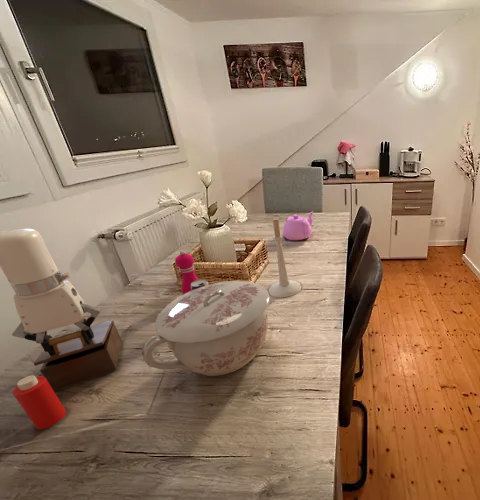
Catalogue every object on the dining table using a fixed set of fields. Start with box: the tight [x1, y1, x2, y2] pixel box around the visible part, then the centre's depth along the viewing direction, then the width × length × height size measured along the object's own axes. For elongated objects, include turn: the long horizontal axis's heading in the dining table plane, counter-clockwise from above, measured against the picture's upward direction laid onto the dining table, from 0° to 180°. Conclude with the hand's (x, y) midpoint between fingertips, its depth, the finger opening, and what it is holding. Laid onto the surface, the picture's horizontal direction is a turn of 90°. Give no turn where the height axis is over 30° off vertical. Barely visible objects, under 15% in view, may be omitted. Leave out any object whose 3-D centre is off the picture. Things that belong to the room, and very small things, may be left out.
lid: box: [33, 319, 114, 367], centre depth 73 cm, size 14×13×5 cm
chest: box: [39, 321, 122, 392], centre depth 76 cm, size 14×13×8 cm
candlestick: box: [268, 217, 302, 299], centre depth 107 cm, size 13×13×30 cm
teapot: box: [282, 210, 315, 241], centre depth 168 cm, size 22×22×14 cm
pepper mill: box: [174, 249, 200, 295], centre depth 105 cm, size 7×7×20 cm
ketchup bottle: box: [12, 374, 67, 430], centre depth 60 cm, size 5×5×12 cm
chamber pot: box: [141, 279, 271, 377], centre depth 76 cm, size 28×28×21 cm
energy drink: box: [191, 278, 210, 290], centre depth 98 cm, size 5×5×12 cm
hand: (72, 345), depth 70 cm, fingers closed on lid, 6 cm apart
